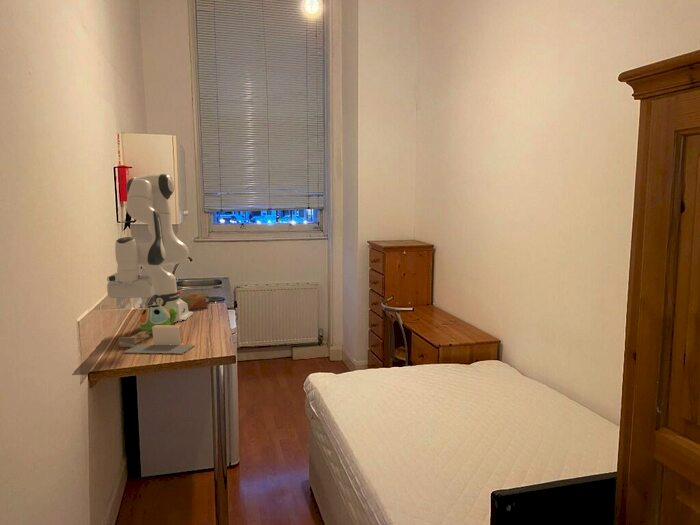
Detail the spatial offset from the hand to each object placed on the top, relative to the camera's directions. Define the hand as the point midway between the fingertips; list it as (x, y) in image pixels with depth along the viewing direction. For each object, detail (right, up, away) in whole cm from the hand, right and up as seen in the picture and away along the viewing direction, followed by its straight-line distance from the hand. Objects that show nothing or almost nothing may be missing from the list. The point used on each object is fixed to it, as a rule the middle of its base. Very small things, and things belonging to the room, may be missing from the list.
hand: (132, 307), depth 225 cm
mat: (+15, -16, -11) cm, 25 cm away
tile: (+17, -15, -4) cm, 23 cm away
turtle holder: (+4, -12, +20) cm, 24 cm away
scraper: (+1, -15, +3) cm, 15 cm away
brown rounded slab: (+9, -6, +62) cm, 63 cm away
